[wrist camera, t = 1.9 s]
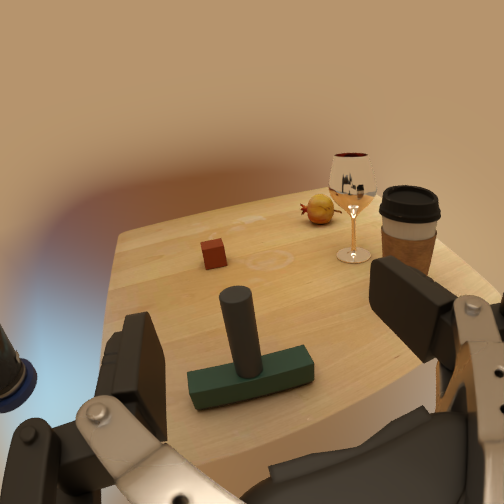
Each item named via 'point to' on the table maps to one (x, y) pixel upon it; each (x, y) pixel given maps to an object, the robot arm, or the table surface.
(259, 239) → the table surface
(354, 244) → the wineglass
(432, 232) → the coffee cup
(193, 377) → the wiper
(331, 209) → the fruit
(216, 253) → the rust-brown cube
